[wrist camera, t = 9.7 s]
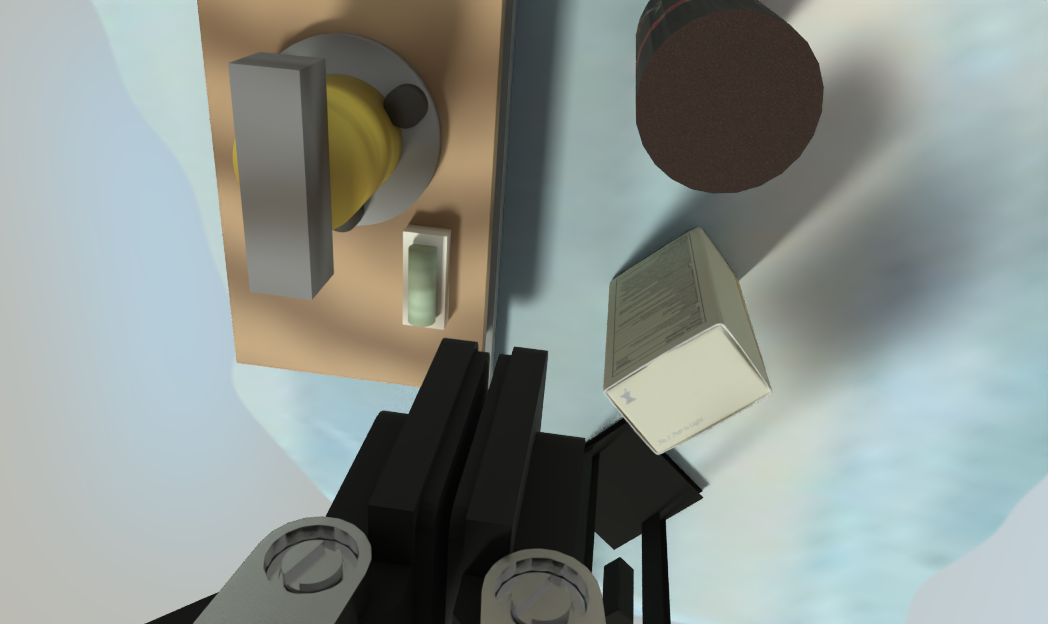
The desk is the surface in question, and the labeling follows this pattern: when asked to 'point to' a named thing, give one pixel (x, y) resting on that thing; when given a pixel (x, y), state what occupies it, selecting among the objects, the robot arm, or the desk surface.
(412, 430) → the robot arm
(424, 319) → the level plate
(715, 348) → the skincare box
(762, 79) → the deodorant
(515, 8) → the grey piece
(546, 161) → the desk surface
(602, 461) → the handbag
